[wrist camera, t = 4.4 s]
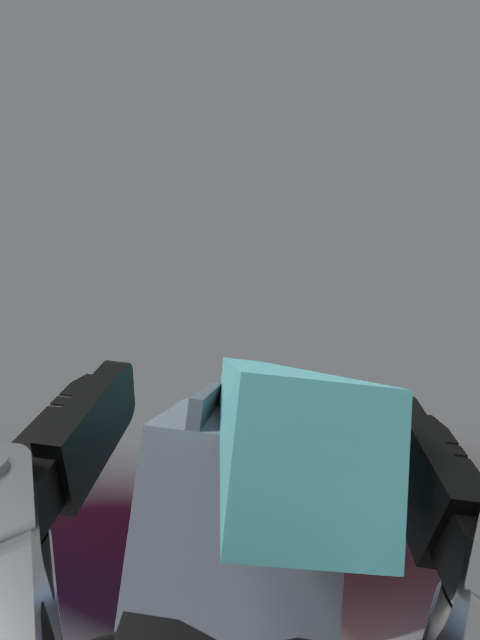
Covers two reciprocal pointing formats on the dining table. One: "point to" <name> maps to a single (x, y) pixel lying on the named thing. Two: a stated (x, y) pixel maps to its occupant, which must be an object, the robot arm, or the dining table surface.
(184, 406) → the tower
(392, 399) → the batten
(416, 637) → the dining table surface
